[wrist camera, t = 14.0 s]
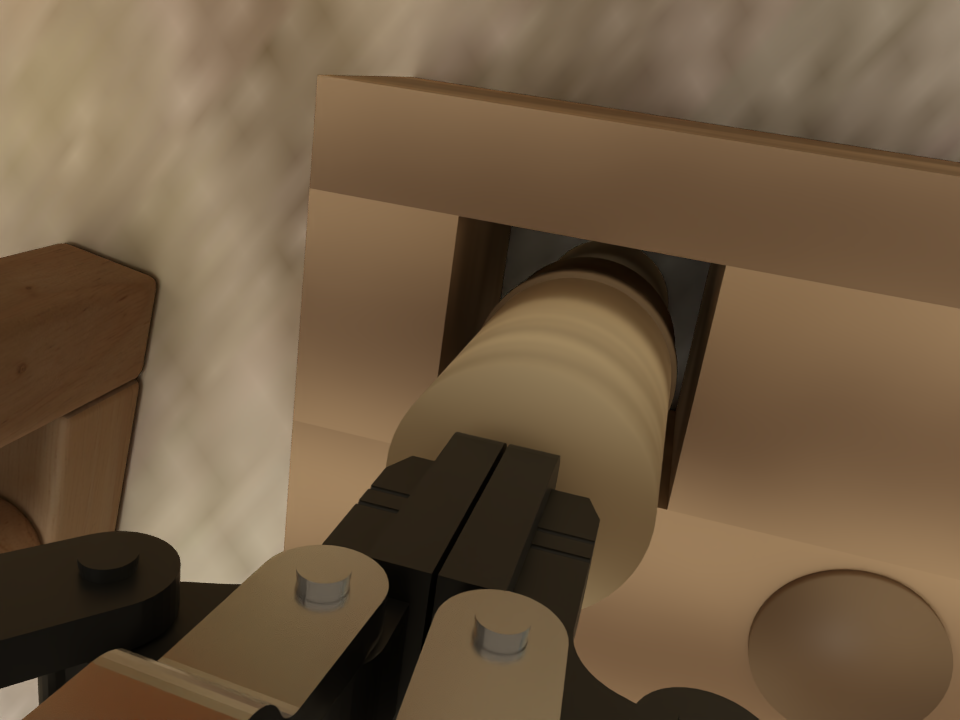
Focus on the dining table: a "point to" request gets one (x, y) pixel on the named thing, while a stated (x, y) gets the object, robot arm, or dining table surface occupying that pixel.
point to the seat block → (707, 380)
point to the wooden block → (67, 390)
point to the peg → (570, 392)
